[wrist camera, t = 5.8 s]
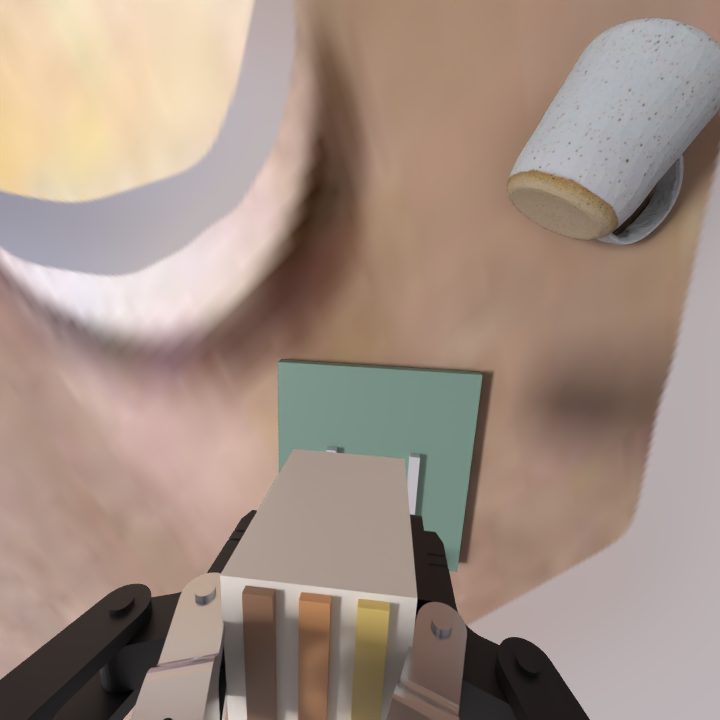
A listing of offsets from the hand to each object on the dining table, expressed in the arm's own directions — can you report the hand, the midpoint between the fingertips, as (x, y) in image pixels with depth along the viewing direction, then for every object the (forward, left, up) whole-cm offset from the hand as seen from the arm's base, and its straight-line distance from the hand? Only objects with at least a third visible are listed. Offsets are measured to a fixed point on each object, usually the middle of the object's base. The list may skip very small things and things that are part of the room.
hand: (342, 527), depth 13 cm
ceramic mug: (-17, +14, -15) cm, 27 cm away
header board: (+6, +1, -15) cm, 16 cm away
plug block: (0, 0, -1) cm, 1 cm away
